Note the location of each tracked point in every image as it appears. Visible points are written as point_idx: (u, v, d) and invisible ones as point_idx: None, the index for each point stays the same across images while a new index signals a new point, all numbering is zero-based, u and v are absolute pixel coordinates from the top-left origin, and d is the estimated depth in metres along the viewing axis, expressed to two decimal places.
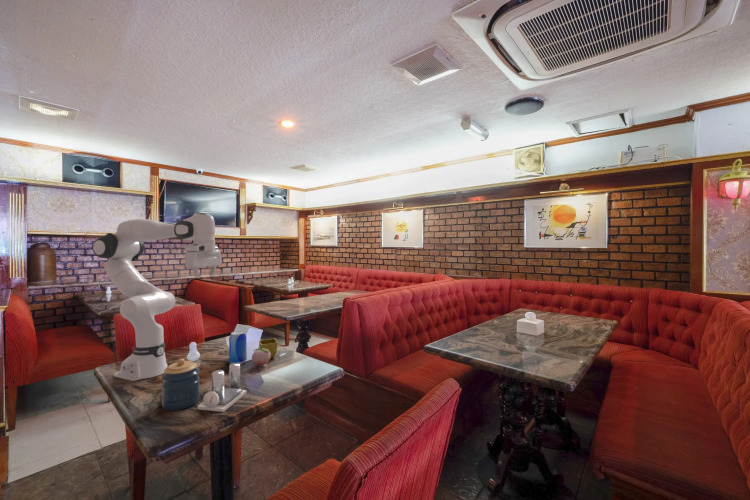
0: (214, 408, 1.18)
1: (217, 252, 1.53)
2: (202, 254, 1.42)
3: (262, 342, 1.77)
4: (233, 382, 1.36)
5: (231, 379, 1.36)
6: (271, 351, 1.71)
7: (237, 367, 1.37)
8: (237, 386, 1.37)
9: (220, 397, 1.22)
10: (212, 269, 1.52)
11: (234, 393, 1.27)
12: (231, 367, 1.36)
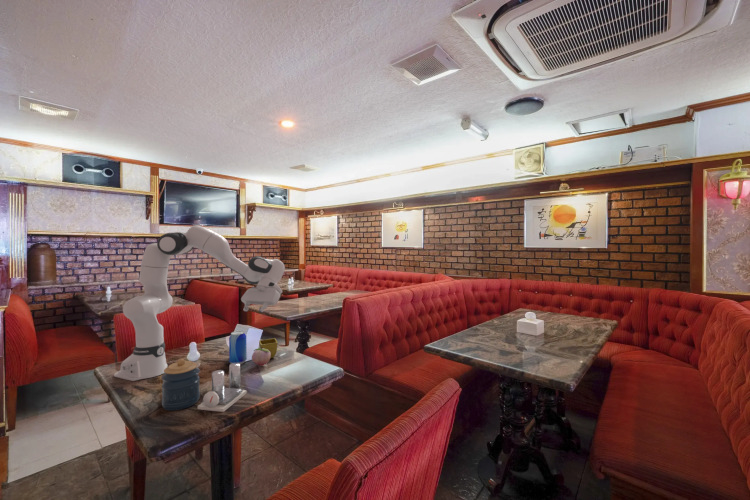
0: (214, 408, 1.18)
1: None
2: None
3: (262, 342, 1.77)
4: (233, 382, 1.36)
5: (231, 379, 1.36)
6: (271, 351, 1.71)
7: (237, 367, 1.37)
8: (237, 386, 1.37)
9: (220, 397, 1.22)
10: (246, 305, 1.53)
11: (234, 393, 1.27)
12: (231, 367, 1.36)
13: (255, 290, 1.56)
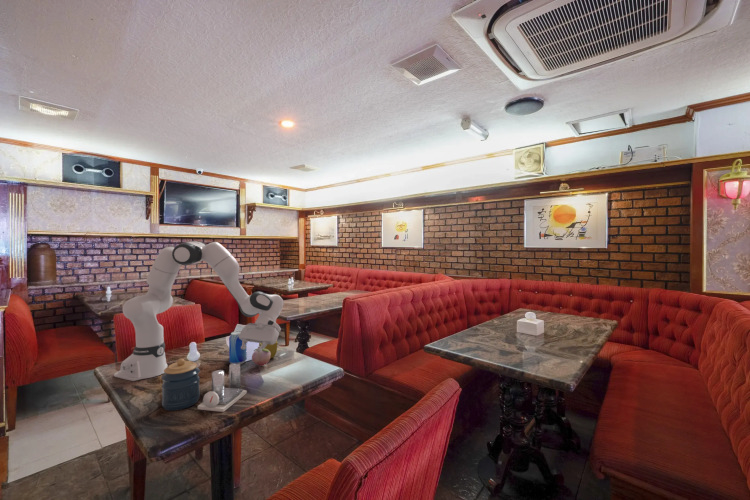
0: (214, 408, 1.18)
1: None
2: None
3: None
4: (233, 382, 1.36)
5: (231, 379, 1.36)
6: (271, 351, 1.71)
7: (237, 367, 1.37)
8: (237, 386, 1.37)
9: (220, 397, 1.22)
10: (244, 343, 1.51)
11: (234, 393, 1.27)
12: (231, 367, 1.36)
13: (253, 327, 1.54)
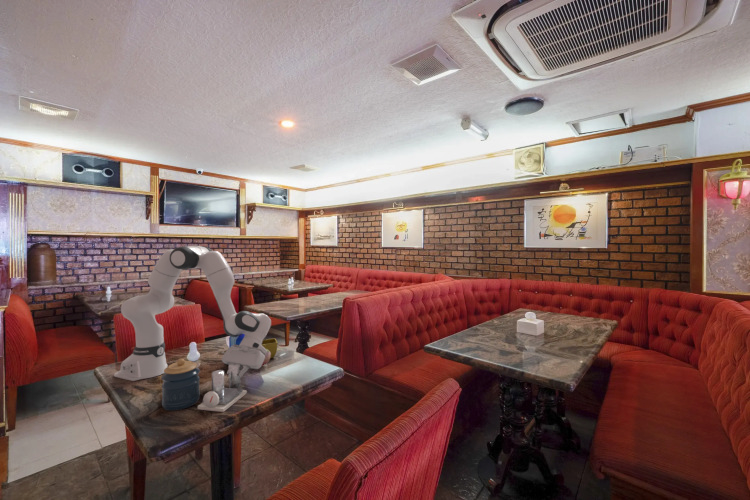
0: (214, 408, 1.18)
1: None
2: None
3: (262, 342, 1.77)
4: (233, 382, 1.36)
5: (231, 379, 1.36)
6: (271, 351, 1.71)
7: (237, 367, 1.37)
8: (237, 386, 1.37)
9: (220, 397, 1.22)
10: None
11: (234, 393, 1.27)
12: (231, 367, 1.36)
13: (237, 350, 1.45)
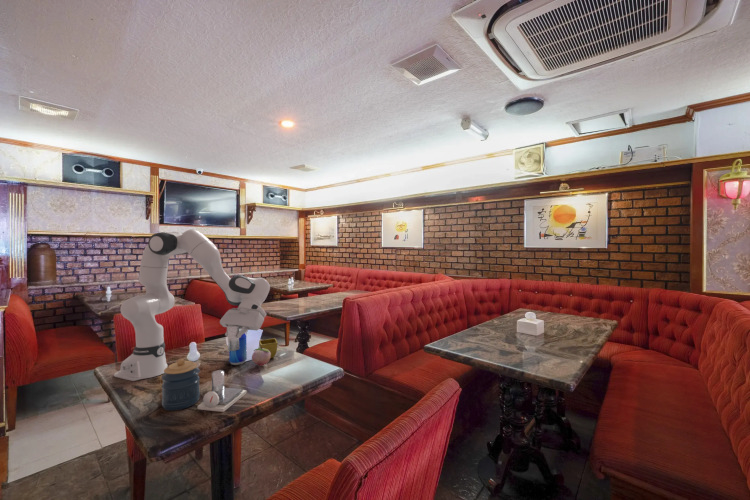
0: (214, 408, 1.18)
1: None
2: None
3: (262, 342, 1.77)
4: (232, 344, 1.33)
5: (230, 341, 1.33)
6: (271, 351, 1.71)
7: (236, 329, 1.34)
8: (236, 348, 1.34)
9: (220, 397, 1.22)
10: None
11: (234, 393, 1.27)
12: (229, 328, 1.33)
13: (236, 312, 1.41)
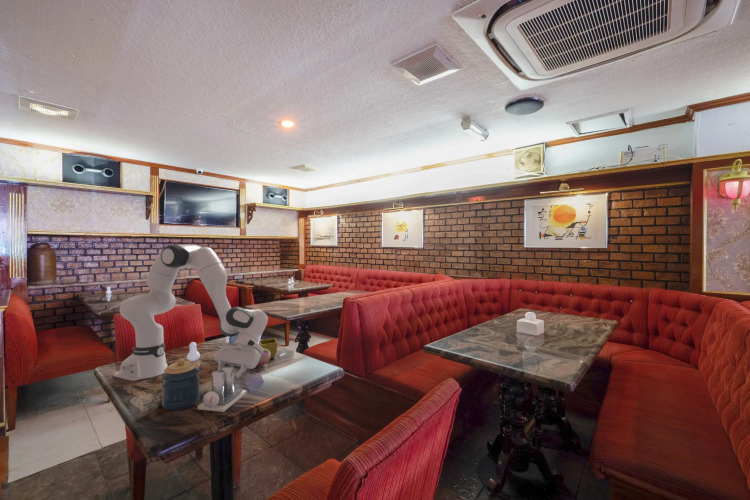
0: (214, 408, 1.18)
1: None
2: None
3: (262, 342, 1.77)
4: (226, 386, 1.26)
5: (224, 383, 1.26)
6: (271, 351, 1.71)
7: (231, 370, 1.27)
8: (231, 391, 1.27)
9: (220, 397, 1.22)
10: (220, 366, 1.31)
11: (234, 393, 1.27)
12: (224, 370, 1.26)
13: (232, 348, 1.35)
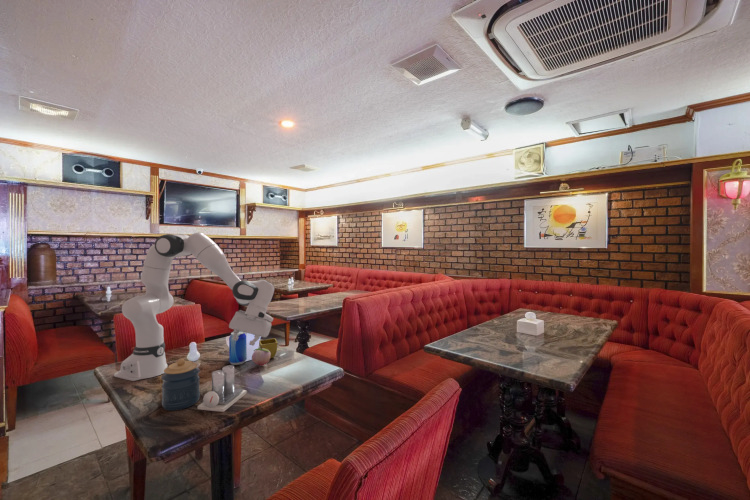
0: (214, 408, 1.18)
1: None
2: None
3: (262, 342, 1.77)
4: (226, 386, 1.26)
5: (224, 383, 1.26)
6: (271, 351, 1.71)
7: (231, 370, 1.27)
8: (231, 391, 1.27)
9: (220, 397, 1.22)
10: (235, 333, 1.45)
11: (234, 393, 1.27)
12: (224, 370, 1.26)
13: (244, 317, 1.46)
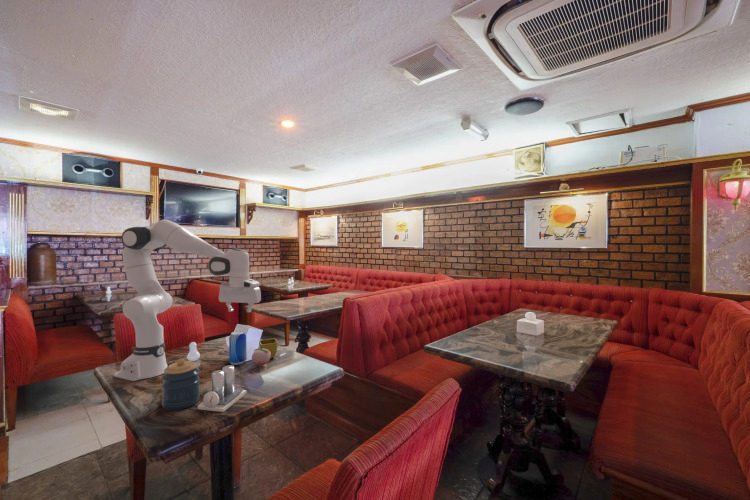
0: (214, 408, 1.18)
1: None
2: None
3: (262, 342, 1.77)
4: (226, 386, 1.26)
5: (224, 383, 1.26)
6: (271, 351, 1.71)
7: (231, 370, 1.27)
8: (231, 391, 1.27)
9: (220, 397, 1.22)
10: (229, 305, 1.49)
11: (234, 393, 1.27)
12: (224, 370, 1.26)
13: (230, 289, 1.47)
